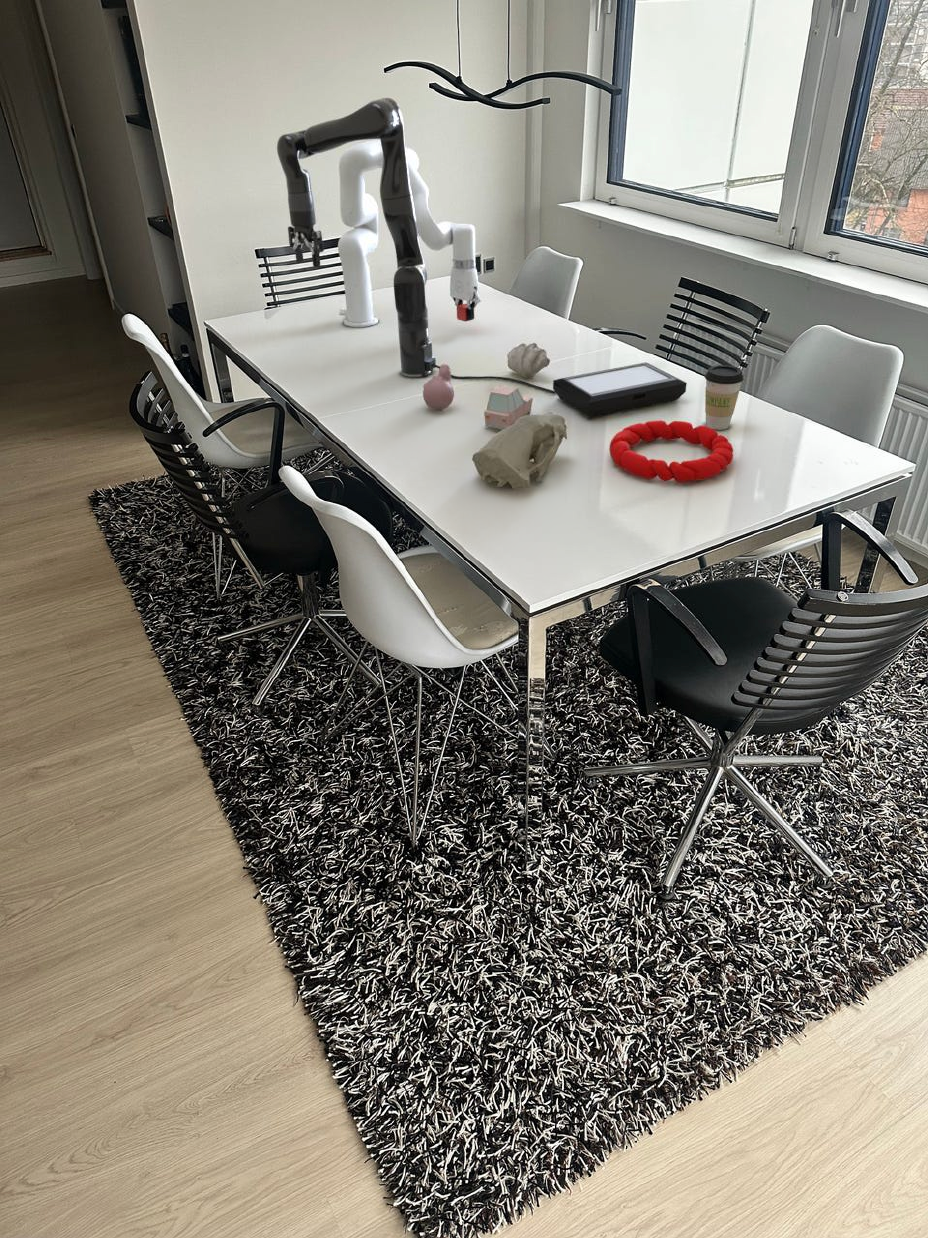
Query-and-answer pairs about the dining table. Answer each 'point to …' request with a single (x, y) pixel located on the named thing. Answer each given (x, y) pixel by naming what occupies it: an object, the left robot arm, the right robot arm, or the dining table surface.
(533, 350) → the seashell
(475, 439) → the dining table surface
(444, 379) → the figurine
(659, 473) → the decorative ring
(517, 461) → the animal skull
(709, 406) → the coffee cup
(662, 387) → the electronic device
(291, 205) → the right robot arm
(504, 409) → the toy car
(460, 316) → the block
